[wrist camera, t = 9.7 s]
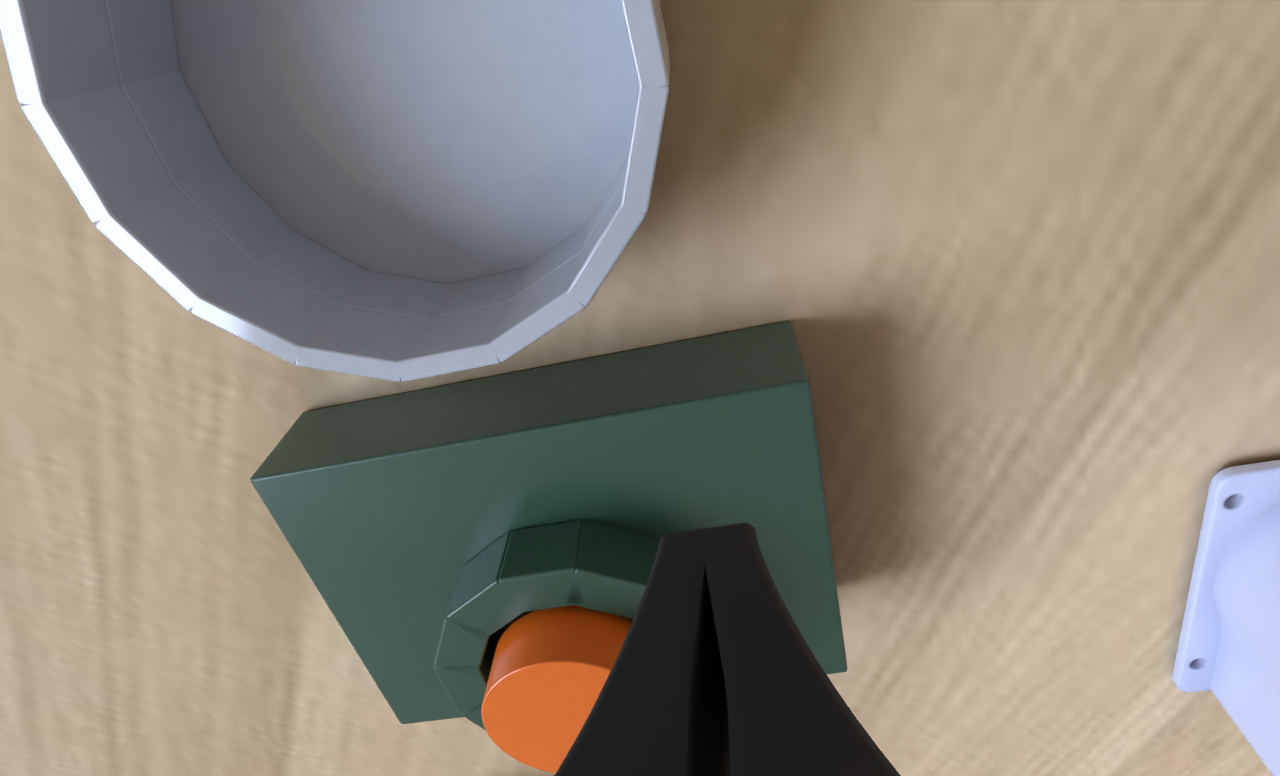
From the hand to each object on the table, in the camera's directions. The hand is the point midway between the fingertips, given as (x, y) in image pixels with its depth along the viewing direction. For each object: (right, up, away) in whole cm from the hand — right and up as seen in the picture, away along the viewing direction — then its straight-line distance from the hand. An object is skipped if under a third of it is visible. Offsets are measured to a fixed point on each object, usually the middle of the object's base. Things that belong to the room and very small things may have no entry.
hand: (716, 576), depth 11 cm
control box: (-3, -1, +12) cm, 12 cm away
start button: (-3, -4, +8) cm, 10 cm away
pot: (-6, +10, +5) cm, 13 cm away
